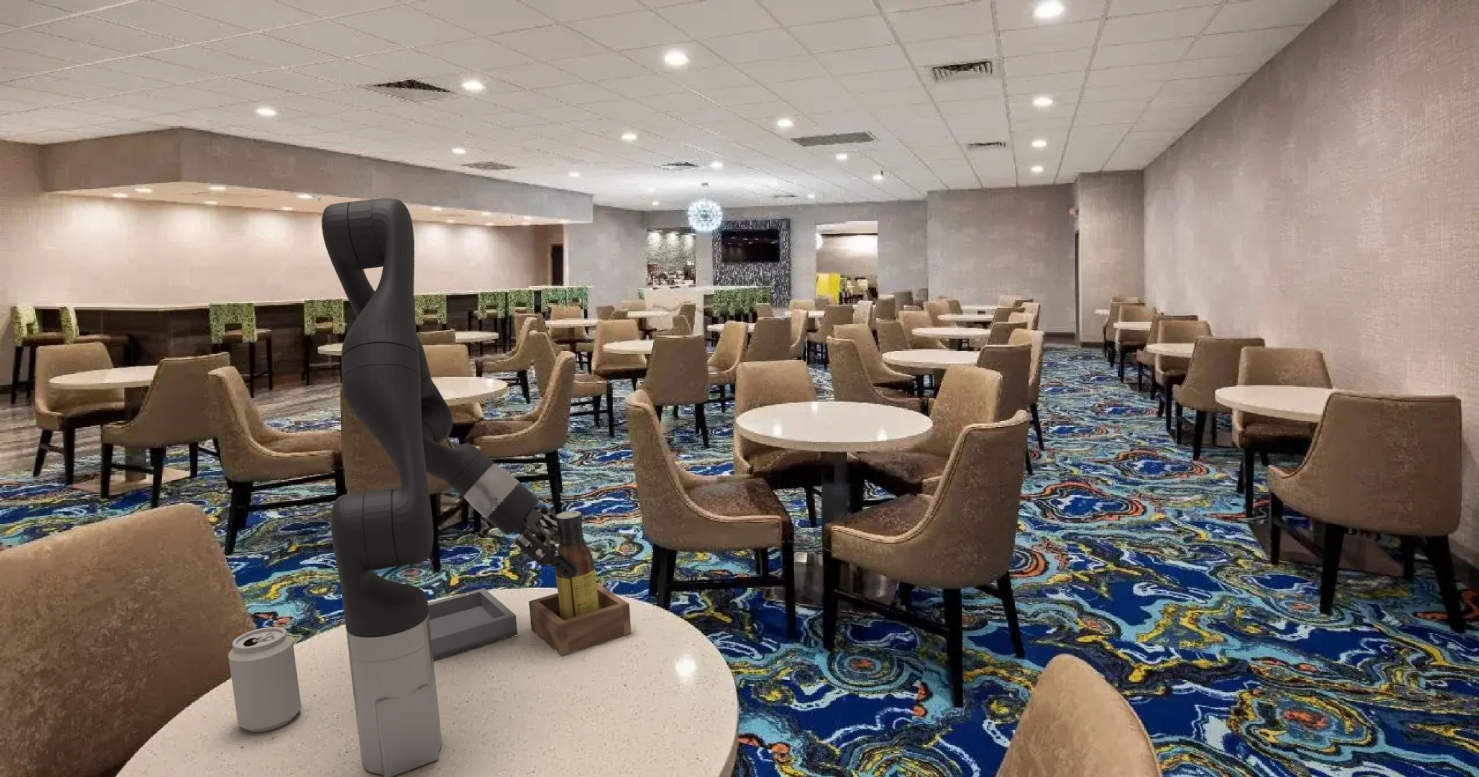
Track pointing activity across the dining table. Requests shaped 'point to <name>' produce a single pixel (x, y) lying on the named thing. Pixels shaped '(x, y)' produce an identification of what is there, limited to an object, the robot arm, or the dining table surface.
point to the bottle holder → (580, 622)
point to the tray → (468, 623)
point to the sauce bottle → (582, 587)
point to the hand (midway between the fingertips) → (579, 564)
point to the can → (264, 679)
